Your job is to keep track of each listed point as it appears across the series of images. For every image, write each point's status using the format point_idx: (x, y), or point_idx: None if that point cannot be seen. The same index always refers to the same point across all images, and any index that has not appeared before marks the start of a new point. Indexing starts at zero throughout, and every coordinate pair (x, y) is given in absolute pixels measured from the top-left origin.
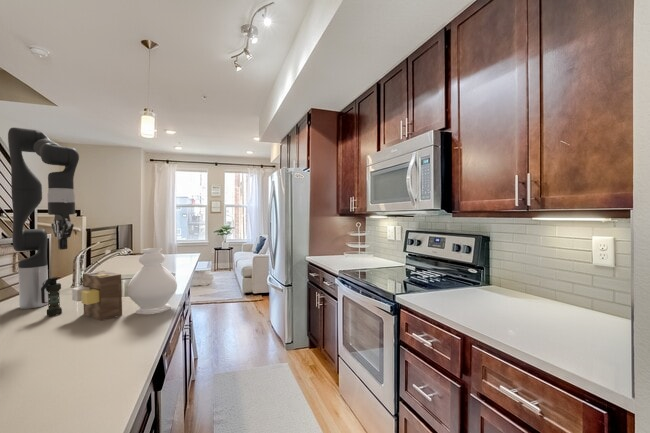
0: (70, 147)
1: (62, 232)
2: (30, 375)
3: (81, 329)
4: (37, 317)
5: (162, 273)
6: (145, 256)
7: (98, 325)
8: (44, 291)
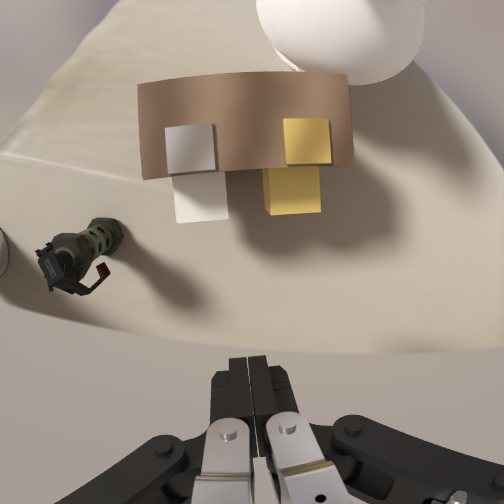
0: None
1: (382, 493)
2: (457, 330)
3: (331, 226)
4: None
5: None
6: None
7: (337, 188)
8: (95, 286)
